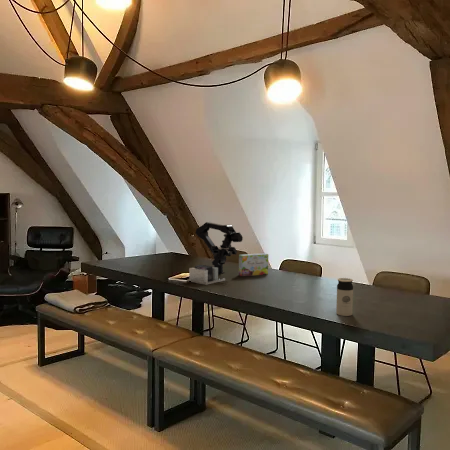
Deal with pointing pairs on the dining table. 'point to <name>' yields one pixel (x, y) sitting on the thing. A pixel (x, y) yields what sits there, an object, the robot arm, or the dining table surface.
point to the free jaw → (214, 273)
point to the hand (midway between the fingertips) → (219, 259)
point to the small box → (206, 269)
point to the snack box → (253, 264)
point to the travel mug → (344, 297)
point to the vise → (201, 276)
